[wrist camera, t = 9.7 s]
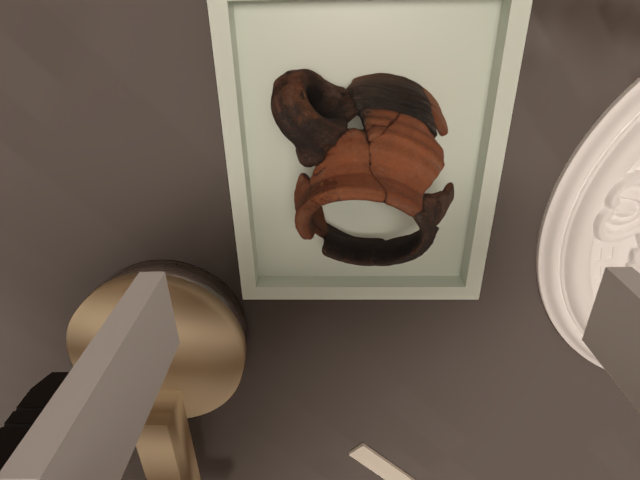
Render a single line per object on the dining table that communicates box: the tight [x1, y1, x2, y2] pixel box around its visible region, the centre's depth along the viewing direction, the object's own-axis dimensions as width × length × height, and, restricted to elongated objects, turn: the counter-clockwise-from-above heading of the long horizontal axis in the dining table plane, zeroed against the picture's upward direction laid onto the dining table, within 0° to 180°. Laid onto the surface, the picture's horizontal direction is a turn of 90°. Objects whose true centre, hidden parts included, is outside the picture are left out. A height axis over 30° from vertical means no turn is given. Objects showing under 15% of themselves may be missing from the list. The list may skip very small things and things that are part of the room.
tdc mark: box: [349, 443, 415, 480], centre depth 41 cm, size 8×2×1 cm, turn 46°
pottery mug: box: [271, 69, 454, 266], centre depth 24 cm, size 12×10×8 cm
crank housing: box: [114, 260, 246, 335], centre depth 33 cm, size 11×11×2 cm
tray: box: [207, 0, 533, 300], centre depth 27 cm, size 16×19×2 cm
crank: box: [66, 273, 247, 480], centre depth 31 cm, size 22×12×7 cm, turn 1°
